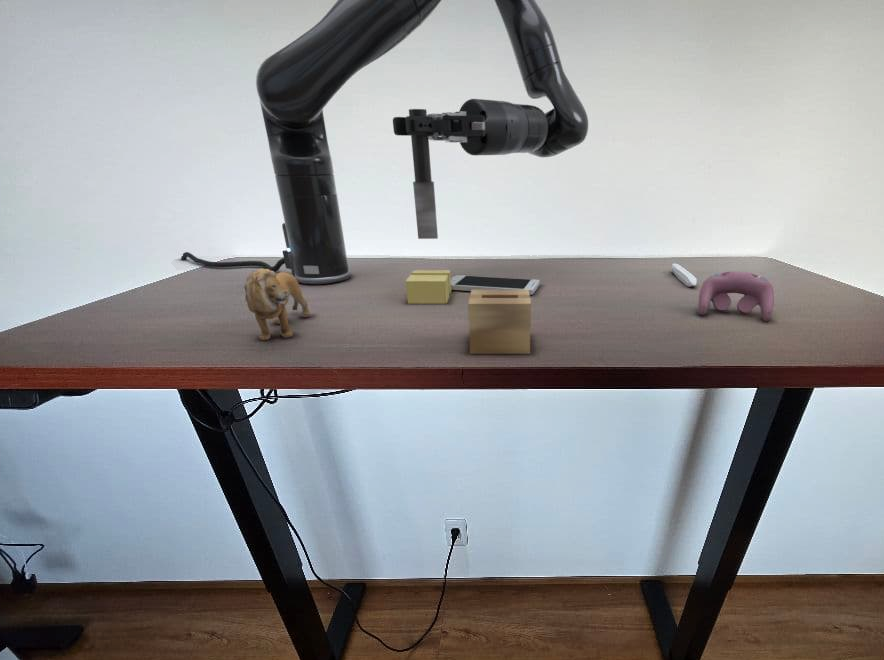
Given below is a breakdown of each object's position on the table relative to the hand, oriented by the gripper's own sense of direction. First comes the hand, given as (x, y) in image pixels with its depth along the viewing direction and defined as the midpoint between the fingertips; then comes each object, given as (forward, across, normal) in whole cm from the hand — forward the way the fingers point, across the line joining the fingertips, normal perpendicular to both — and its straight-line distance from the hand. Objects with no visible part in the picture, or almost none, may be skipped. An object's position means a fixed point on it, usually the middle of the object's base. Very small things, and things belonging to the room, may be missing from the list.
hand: (401, 125), depth 65 cm
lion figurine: (+21, 0, +24) cm, 32 cm away
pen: (-42, +24, +24) cm, 54 cm away
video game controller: (-28, +39, +24) cm, 53 cm away
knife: (-3, 0, +15) cm, 15 cm away
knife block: (+5, +24, +24) cm, 34 cm away
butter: (-3, 0, +24) cm, 24 cm away
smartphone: (-13, +3, +24) cm, 28 cm away
